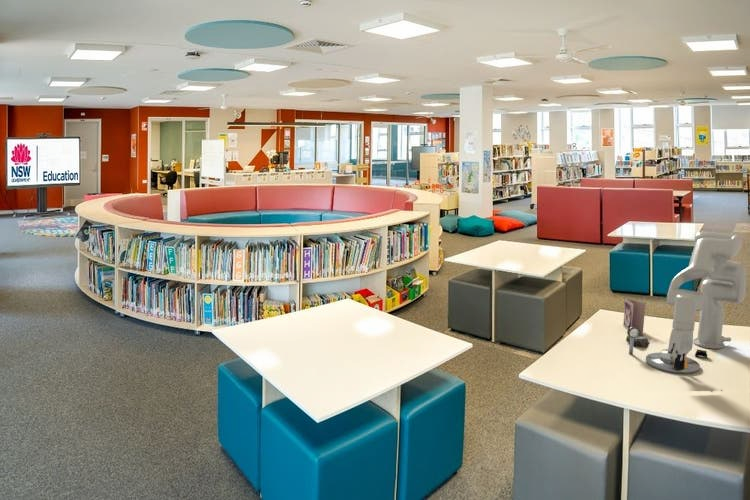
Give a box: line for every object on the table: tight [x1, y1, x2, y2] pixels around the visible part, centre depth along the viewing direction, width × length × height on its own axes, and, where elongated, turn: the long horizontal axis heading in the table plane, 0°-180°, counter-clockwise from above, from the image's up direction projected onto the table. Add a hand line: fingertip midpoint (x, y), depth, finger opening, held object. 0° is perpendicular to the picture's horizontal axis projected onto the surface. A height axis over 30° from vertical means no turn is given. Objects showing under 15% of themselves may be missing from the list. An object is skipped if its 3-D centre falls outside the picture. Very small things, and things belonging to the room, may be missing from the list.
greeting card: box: [622, 297, 646, 333], centre depth 279 cm, size 11×7×15 cm, turn 174°
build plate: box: [694, 349, 708, 359], centre depth 239 cm, size 12×7×5 cm, turn 55°
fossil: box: [625, 330, 651, 348], centre depth 256 cm, size 11×9×10 cm
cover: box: [660, 348, 678, 364], centre depth 230 cm, size 7×7×5 cm
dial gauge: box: [626, 327, 647, 355], centre depth 242 cm, size 9×6×14 cm, turn 93°
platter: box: [645, 352, 701, 375], centre depth 230 cm, size 20×20×6 cm
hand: (678, 368), depth 220 cm, fingers closed
